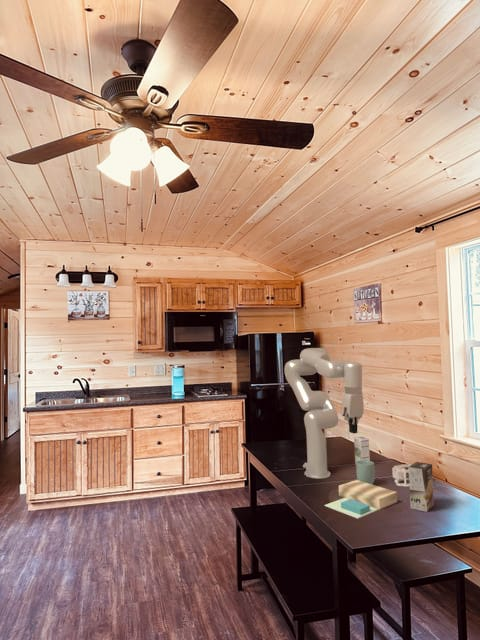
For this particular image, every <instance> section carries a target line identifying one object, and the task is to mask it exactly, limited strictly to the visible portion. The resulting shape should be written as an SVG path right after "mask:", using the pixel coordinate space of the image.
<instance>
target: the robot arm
mask: <svg viewBox="0 0 480 640" xmlns="http://www.w3.org/2000/svg"><path fill="white" fill-rule="evenodd" d="M316 373H318V374H319V375H321V376H323V377H325V378H328V379H337V378H338V379H339V378H343V379H344V383H343V384H344V385H343V387H344V389H343V390H344V391H343V395H342V399H341V400H342V401H341V416H342V417H344V418H343V420H344V421H347V423H348V425H349V426H348V430H349V432H348V433H350V434H358V424H359V420H360V419H362V418H363V415H364V407H365V406H364V398H363V397H364V395H363V365H362V364H361V363H360V362H355V361H354V362H353V361H350V360H332V361H331V359H330V357H329V353H328V351H327V350H326V349H324V348H322V347H309V348H304V349H302V350H301V352H300V354H299V359H291V360H289V361H287V362H286V363H285V365H284V375H285V380H286V381H287V383H288V384H289V386H290V387H291V388H292V391H293V393H294V395H295V397H296V400H297V402H298V404H299V406H300V408H301V410H303V411H307V412H306V413H305V414H304V417H303V421H304V422H303V423H304V428H305V432H306V433H305V434H306V455H307V462H304V464H303V465H302V468H305V469H306V470H305V471H304V476H305V475H306V477H307V478H311V479H316V480H317V479H327V478H329V477H331V472H330V471H329V470H328V455H327V454H328V453H327V452H328V451H327V449H328V448H327V437H326V435H325V433H324V432H323V430H325V429H333V428H335V427H336V426H337V425H338V424H339V415H338V412H337V410H336V408H335V407H334V404H333V403H332V401H331V399H330V397H329V395H328V393H326V392H325V391H323V390H312V389H311V386H310V385H309V383H308V382H307V380H306V379H304V378H303V377H301V376H312V375H314V374H316Z"/></svg>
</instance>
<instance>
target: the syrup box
mask: <svg viewBox="0 0 480 640" xmlns="http://www.w3.org/2000/svg"><path fill="white" fill-rule="evenodd" d="M353 444H354V466H356V462H357V461H359V460H369V461H371V458H370V457H371V455H370V453H371V452H370V438H368V437H365V436H356V437H353Z"/></svg>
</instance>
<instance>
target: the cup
mask: <svg viewBox="0 0 480 640" xmlns="http://www.w3.org/2000/svg"><path fill="white" fill-rule="evenodd" d="M355 468H356V471H355V472H356V477H357V479H356V480H358V481H362V482H365V483H368V484H372V485H374V482H375V469H376V468H375V462H374V461H371V460H370V461H369V460H359V461H357V462H356V465H355Z"/></svg>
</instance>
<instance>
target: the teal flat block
mask: <svg viewBox="0 0 480 640" xmlns="http://www.w3.org/2000/svg"><path fill="white" fill-rule="evenodd" d="M370 507H371V506H370V505H367V504H364V503H361V502H358V501H355V500H352V499H349V500H347V501H344V502H341V508H343V509H346V510H348V511H351V512H354V513H357V514H359V515H361V514H364V513H366V512H368V511H370Z"/></svg>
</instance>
